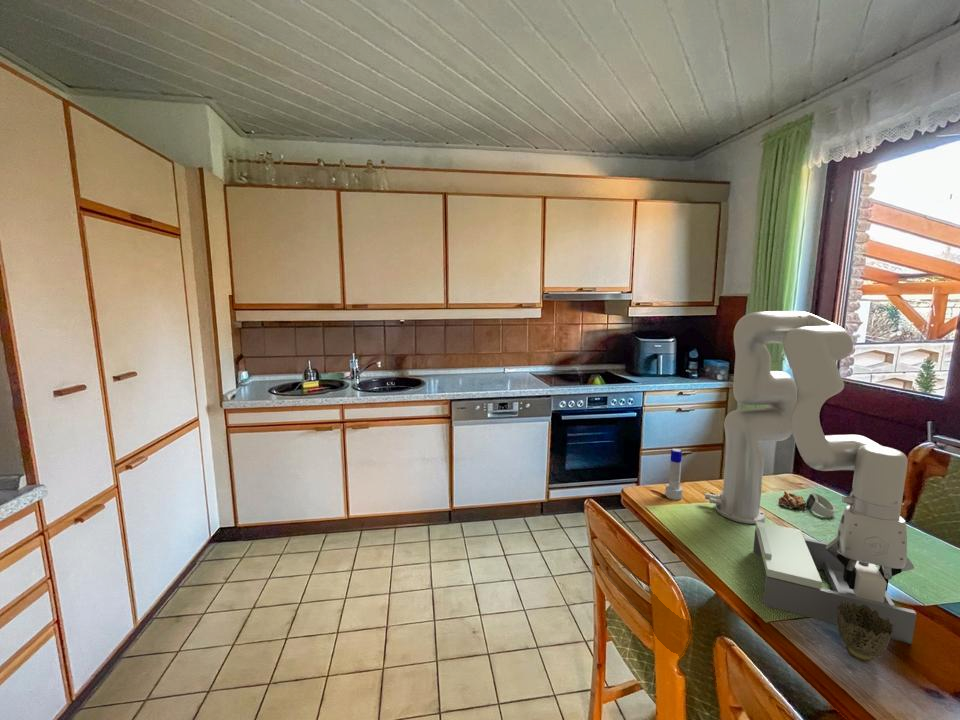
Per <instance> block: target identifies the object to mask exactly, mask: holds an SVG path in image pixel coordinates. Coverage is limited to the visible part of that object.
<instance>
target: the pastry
mask: <svg viewBox="0 0 960 720" xmlns="http://www.w3.org/2000/svg"><path fill="white" fill-rule="evenodd" d="M783 493H784V494H783V496H781V497H779V498H778V505H781V506H783V507H785V508H788V509H793V508H797V509H800V510H802V511H801V512H802V513H804V514H807V509H806V507H805V506H807V505H806V500H805V499H804V497H803V495H801V496H800V495H797V494H796V493H794V492H792V493H791V492H790V493H788V492H787V491H786V490H784V492H783Z"/></svg>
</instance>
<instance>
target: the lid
mask: <svg viewBox="0 0 960 720" xmlns="http://www.w3.org/2000/svg"><path fill="white" fill-rule="evenodd" d="M755 528H756V532H757V536H758V540H759V545H760V549H761V553H762V555H761V558H762V561H763V565H764V569H765V575H767V576H768V577H772V578H776V579H780V580H785V581H789V582H793V583H797V584H801V585H805V586H809V587H814V588H818V589H821V588H822V586H823V580H822V578H821V576H820V573H819V571H818V568H816V566H815V564H814V561H813V559H812V557H811V554H810V552H809V550H808V547H807V545H806V542H805V540H804V538H805V537H804V536H803V532H802V530H801V529H797V528H793V527H787V526H781V525H776V524H771V523H767V522H757V521H756V524H755Z"/></svg>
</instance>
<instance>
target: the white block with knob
mask: <svg viewBox="0 0 960 720" xmlns="http://www.w3.org/2000/svg"><path fill="white" fill-rule="evenodd" d="M854 568H855V569H854V570H855V572H856V578H855V585H854V589H853V591H854V593H855V595H856V596H857V597H861V598H865V599H869V600H873V601H877V602H882V603H884V599H885V592H887V591H886V585H887V582H886V581H885V579H884V578H883V576H882V575H881V573H880V572H879V568H878V567H877V565H875V564H870V563H865V562H860V561H857V562H856V565H855V567H854Z"/></svg>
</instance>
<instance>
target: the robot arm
mask: <svg viewBox="0 0 960 720" xmlns="http://www.w3.org/2000/svg"><path fill="white" fill-rule="evenodd" d="M766 344H782V348H783V351H784V355H785V357H786V359H787V363H788V365H789V368H790V371H791V373H792V374H791V375H792V376H793V377H792V376H791V375H790V374H789V373H788V372H785V371H781V370H771V366H772V356H771V353H770V351H769V349H768V347H767V346H766ZM733 345H734V351H735V360H734V373H733V383H732V384H733V385H732V391H733V392H732V393H733V397H734V399H735V401H736V402H737V403H740V404H742V405H747V406H763V405H764V406H765V408H757V407H755V408H741V409H740V408H739V409H735V410H732V411H730V412H728V414H726V416H725V418H724V421H723V422H724V423H723V429H724V435H725V457H724V458H725V459H724V460H725V462H724V472H723V484H722V491H720V493H717V494H713V493H708V492H705V493H704V500H707V501H709V503H710V504H715V510H716V512H717V513H718V514H719V515H721V516H723V517H724V518H726V519H729V520H731V521H733V522H738V523H741V524H748V525H749V524H752V525H754V524H755V525H756V521H757V522H762V523H764V522H765V520H766V513H765V512H764V511H763V510H762V509H761V508H760V507H761V496H762V488H763V487H762V486H763V477H764V476H763V475H764V465H765V458H764V454H763V452H762V450H761V449H760V447H759V444H758V443H765V442H767V443H768V442H769V443H770V442H782V441H785V440H787V439H789V438H790V437H791V436H793V439H794V441H795V445H796V448H797V450H798V452H799V455H800V457H801V458H802V460H803V461H804V463H805V464H806V465H807V466H809V467H810V468H812V469H814V470H816V471H822V472H828V471H829V472H830V471H831V472H833V471H853V472H854V473H853V480H852V488H851V492H850V493H849V496H848V495H847V496H844V495H841V502H842V503H844V504H847V505H846V506H845V508H844V510H843V513H842V515H841V518H840V521H839V525H838V529H837V533H836V534H837V535H836V537H835V538H834V539H833V540H831V541H830V542H828V543H829V544H828V545H827V546H826V549H827V551H828V552H829V553H830V554H832V555H833V556H834V557H836V558H837V559H838V560H839V561H840V562H841V563H842V564H843V565H844V566H845V567H844V575H843V579H844V581H845V582H847V584H848V586H849V588H850V589H854V585H855V578H856V572H855V570H854V569H855V568H854V567H855V565H856V562H857V561H860V562H865V563H870V564H875V565H876V566H878V567H879V568H878V570H879V572H880V573H881V575H882V576H883V578H884V579H885V581H886V582H887V585H886V592H887V591H888V585H889V580H891V579H892V578H893V577H894V576H897V575H899V574H901V573H902V572H907V571H911V570H912V571H913V570H914V569H915V566H914V564H913V563H912V561H911V559H910V558H909V557H908V556H907V555H908V531H907V523H906V520H905V518H903V517H902V516H901V511H902V506H903V505H902V504H903V498H904V497H903V496H904V490H905V484H906V477H907V469H908V463H909V462H908V461H909V460H908V457H907V455H906V454H905V453H904V452H902V451H901V450H899V449H895V448H894V447H889V446H884V445H882V444H879V443H878V442H876V441H874V440H872V439H870V438H868V437H866V436H865V435H862V434H861V435H860V434H852V433H851V434H828V435H827V434H826V435H825V433H824V432H823V431H824V430H823V428H822V426H821V421H820V413H821V409H822V407H823V405H824V404H825V402H826V401H827V400H828V399H830V398H831V397H833V396H835V395H838V394H840V393H841V392H842V391H843V390H844V388H845V382H844V380H843V378H842V376H841V373H840V370H839V367H838V365H837V363H836V361H840V360H844V359H846V358H847V357H849V356H850V355H851V353H852V351H853V349H854V348H853V347H854V341H853V338H852V337H851V335H850V333H849V332H848V331H847V330H846V329H845V328H843V327H842V326H840V325H838V324H836V323H834V322H831V321H829V320H827V319H824V318H822V317H820V316H818V315H815V314H813V313H810V312H807V311H802V310H801V311H800V310H798V311H797V310H782V311H781V310H773V311H771V310H767V311H765V310H764V311H762V310H761V311H755V312H749V313H747V314H745V315H743V316H742V317H740V318H739V320H738V321H737V322H736V324H735V327H734V329H733ZM839 548H840V552H839V551H838V550H837V549H839Z"/></svg>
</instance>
